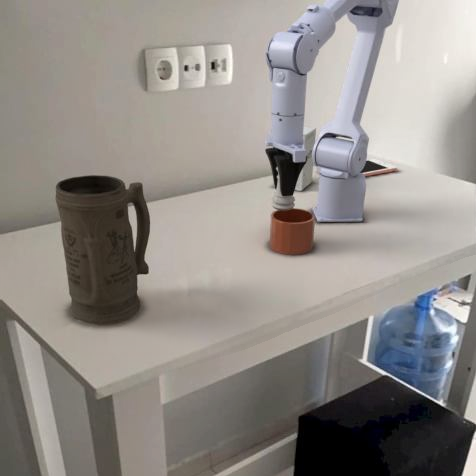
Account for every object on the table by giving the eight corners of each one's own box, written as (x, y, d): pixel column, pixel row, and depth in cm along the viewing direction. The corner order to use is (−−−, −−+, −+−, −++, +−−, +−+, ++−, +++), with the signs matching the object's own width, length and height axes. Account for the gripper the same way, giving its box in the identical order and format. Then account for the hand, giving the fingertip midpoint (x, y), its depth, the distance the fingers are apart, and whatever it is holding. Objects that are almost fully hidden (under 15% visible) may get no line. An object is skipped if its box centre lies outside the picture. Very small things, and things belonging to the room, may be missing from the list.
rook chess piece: (282, 213, 116) (285, 168, 111) (266, 206, 118) (267, 162, 114) (299, 207, 118) (302, 163, 113) (283, 201, 121) (285, 158, 116)
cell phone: (397, 170, 160) (398, 167, 160) (341, 181, 153) (341, 177, 152) (375, 162, 167) (375, 158, 166) (319, 171, 159) (319, 168, 159)
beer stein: (105, 333, 93) (95, 196, 83) (53, 314, 98) (37, 182, 87) (168, 300, 105) (167, 175, 94) (119, 284, 109) (112, 163, 98)
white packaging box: (302, 191, 147) (305, 134, 139) (272, 187, 149) (274, 130, 142) (312, 183, 152) (317, 127, 145) (284, 178, 155) (287, 123, 147)
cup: (309, 237, 124) (311, 207, 121) (315, 254, 118) (318, 223, 114) (268, 238, 124) (269, 208, 120) (272, 255, 117) (273, 223, 114)
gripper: (253, 105, 113) (251, 181, 121) (279, 123, 102) (275, 206, 110) (290, 103, 115) (286, 178, 123) (320, 121, 103) (313, 203, 112)
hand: (283, 192), depth 116 cm, fingers closed on rook chess piece, 3 cm apart
